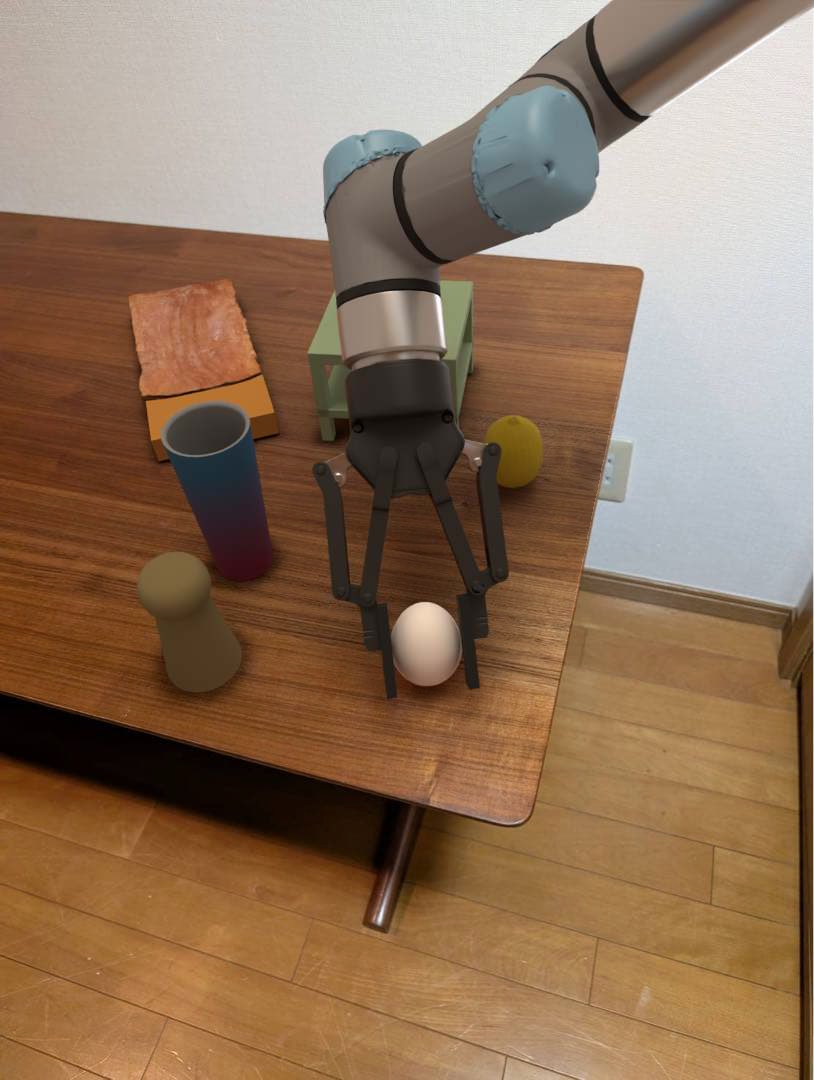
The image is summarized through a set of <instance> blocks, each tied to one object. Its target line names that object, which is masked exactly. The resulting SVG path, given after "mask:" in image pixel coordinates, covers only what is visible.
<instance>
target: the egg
mask: <svg viewBox="0 0 814 1080" xmlns="http://www.w3.org/2000/svg"><path fill="white" fill-rule="evenodd" d="M391 642H392V651H393V660H394V667H395V668H396V670H397V672H398V673H399V674H400V675H401V676H402V677H403V679H405V680H407V681H409V682H410V683H412V684H414V685H417V686H421V687H433V686H436V685H440V684H442V683H444V682H445V681H447V680H448V679H449V678H451V677H452V676H453V674H454V673H455V671H457V669H458V667H459V664H460V662H461V659H462V654H463V653H462V644H461V635H460V627H459V625H458V624H457V622H456V621H455V619H454V618H453V617H452V615H451V614H450V613H449V612H448V611H447V610H446V609H445V608H443V607H442V606H441V605H438V604H436V603H434V602H429V601H423V602H422V601H421V602H416V603H414V604H412V605H410V606H408V607H406V608H405V610H403V611H402V612H401V614H400V615H399V616H398V618H397V620H396V621H395V624H394V625H393V627H392V631H391Z"/></svg>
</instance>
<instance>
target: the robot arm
mask: <svg viewBox="0 0 814 1080" xmlns="http://www.w3.org/2000/svg"><path fill="white" fill-rule="evenodd" d="M812 9H814V0H611V1H609V2H608V3H607V4H605V5H604V6H603V7H602V8H601V9H599V11H598V12H597V13H596V14H595V15H594V16H592V17H591V18H590V19H588V20H586V21H585V22H584V23H583V24H581V25H580V26H579V27H578V28H576V29H575V30H574V31H573V32H572V33H571V34H569V35H568V36H567V37H565V38H563V39H561V40H559V41H558V42H557V43H556V44H554V45H553V46H552V47H551V48H550V49H548V51H546V52H545V53H544V54H543V55H542V56H541V57H539V58H538V60H537V61H536V62H534V64H533V65H531V66H530V68H528V70H527V71H525V72H524V73H523V74H522V75H521V76H520V77H519V78H518V79H516V80H515V81H514V82H512V83H511V84H510V85H508V87H507V88H506V89H504V90H503V91H502V92H501V93H500V94H499V95H497V96H496V97H495V98H494V99H493V100H491V101H490V102H489V103H488V104H486V105H485V106H484V107H483V108H481V109H480V111H478V112H476V114H475V115H473V116H472V117H471V118H469V119H467V120H466V121H465V122H463V123H462V124H460V125H458V126H457V127H455V128H453V129H451V130H450V131H447V132H445V133H444V134H442V135H440V136H438V137H436V138H434V139H432V140H431V141H429V142H428V143H425V144H424V145H423V144H422V143H421V142H420V141H419V140H418V138H417V137H415V136H413V135H412V134H409V133H407V132H404V131H400V130H396V129H395V130H394V129H372V130H368V131H367V132H366V133H364V134H361V135H360V134H352V135H349V136H346V137H345V138H343V139H341V140H340V141H338V142H337V143H335V144H334V145H333V146H332V147H331V148H330V150H329V151H328V153H327V154H326V155H325V157H324V160H323V164H322V165H323V166H322V178H323V183H322V184H323V210H322V212H323V213H322V214H323V219H324V224H325V225H326V231H327V239H328V245H329V252H330V253H329V254H330V260H331V261H330V262H331V267H332V268H331V269H332V276H333V277H332V279H333V286H334V290H335V294H336V305H337V319H338V328H339V337H340V345H341V354H342V363H343V365H344V366H345V367H347V368H348V369H351V370H352V371H351V372H350V373H349V374H348V375H347V377H346V378H345V388H346V397H347V406H348V415H349V419H348V422H349V434H350V435H349V439H348V442H347V444H346V446H345V452H343V453H341V454H339V455H336V456H335V457H333V458H330V459H328V460H326V461H321V460H319V461H317V462H315V463H314V464H313V465H312V468H311V471H312V475H313V476H314V479H315V481H316V483H317V485H318V487H319V489H320V491H321V494H322V497H323V509H324V516H325V517H324V518H325V528H326V529H325V531H326V539H327V550H328V561H329V562H328V563H329V571H330V572H329V573H330V582H331V594H332V596H333V597H334V599H335V600H337V601H341V602H346V603H352V604H353V605H355V606H357V607H358V609H359V611H360V618H361V626H362V627H361V628H362V635H363V645H364V647H365V649H366V651H367V652H368V653H370V652H377V651H380V652H381V660H382V669H383V678H384V679H383V680H384V687H385V696H386V700H395V699H398V688H397V687H398V686H397V679H396V671H395V670H396V669H395V664H394V660H393V651H392V642H391V634H392V632H391V626H390V616H389V615H390V614H389V607H388V602H381V603H379V602H378V598H377V596H378V589H379V584H380V583H379V582H380V576H381V569H382V563H383V557H384V556H383V555H384V548H385V543H386V536H387V529H388V522H389V514H390V508H391V501H392V500H394V499H395V500H396V499H400V498H403V497H406V496H408V495H415V496H420V497H421V496H429V498H430V501H431V503H432V504H431V505H432V506H433V507H434V510H435V513H436V515H437V518H438V520H439V523H440V526H441V528H442V531H443V534H444V537H445V539H446V541H447V544H448V547H449V550H450V551H451V554H452V556H453V559H454V561H455V564H456V566H457V569H458V572H459V575H460V577H461V579H462V582H463V585H464V587H465V593H458V594H455V596H456V597H455V600H456V609H457V617H458V628H459V631H460V635H461V644H462V653H461V654H462V662H463V670H464V678H465V684H466V686H467V688H468V690H478V689H481V684H480V677H479V676H480V675H479V667H478V658H477V649H476V640H482V639H487V638H488V636H489V632H490V627H489V617H488V609H487V608H488V607H487V600H486V595H487V592H488V591H489V590H490V589H491V588H493V587H495V586H496V585H499V584H500V583H503V582H506V581H508V579H509V577H510V571H509V562H508V555H507V547H506V539H505V532H504V531H505V530H504V524H503V517H502V508H501V501H500V494H499V487H498V485H499V484H497V477H496V475H497V471H498V466H499V461H500V457H501V450H502V449H501V447H500V445H499V444H497V443H495V442H491V443H489V444H484V442H479V441H474V440H470V439H465V435H464V434H463V432H462V431H461V429H460V427H459V428H458V426H457V424H456V420H455V414H454V405H453V396H452V387H451V378H450V369H449V367H448V366H446V364H445V363H444V362H441V361H440V360H441V359H442V358H443V357H444V356H445V355H446V354H447V351H448V350H447V341H446V333H445V324H444V316H443V307H442V300H441V292H440V289H441V287H440V281H441V278H440V269H439V268H440V267H442V266H444V265H447V264H451V263H453V262H456V261H458V260H461V259H463V258H467V257H470V256H472V255H475V254H478V253H480V252H482V251H483V252H484V251H486V250H488V249H492V248H494V247H497V246H500V245H503V244H506V243H509V242H511V241H514V240H517V239H519V238H523V237H525V236H530V235H534V234H535V233H538V234H540V233H543V232H546V231H547V230H549V229H551V228H552V227H553V226H554V225H555V224H558V223H560V222H561V221H563V220H565V219H567V218H570V217H572V216H574V215H577V214H579V213H580V212H581V211H583V210H584V209H586V207H587V206H588V205H589V204H590V203H591V202H592V200H593V198H594V196H595V194H596V192H597V187H598V184H597V178H598V176H599V174H600V155H599V154H600V153H601V152H603V151H604V150H605V149H606V148H608V147H610V146H611V145H612V144H614V143H615V142H617V141H618V140H619V139H621V138H622V137H625V136H626V135H627V134H629V133H630V132H631V131H633V130H635V129H636V128H638V127H639V126H640V125H642V124H643V123H644V122H646V121H647V120H649V119H650V118H651V117H653V116H654V115H655V114H656V113H657V112H659V111H660V110H662V109H664V108H666V106H668V105H670V104H671V103H672V102H674V101H676V100H677V99H679V98H680V97H682V96H683V95H684V94H686V93H688V92H689V91H691V90H692V89H693V88H695V87H696V86H698V85H700V84H701V83H703V82H704V81H706V80H707V79H708V78H710V77H711V76H713V75H715V74H716V73H717V72H719V71H721V70H723V68H725V67H727V66H728V65H729V64H732V63H733V62H734V61H736V60H737V59H739V58H740V57H741V56H743V55H744V54H746V53H747V52H749V51H750V50H752V49H754V48H755V47H757V46H758V45H760V44H761V43H762V42H764V41H766V40H767V39H768V38H771V36H773V35H774V34H776V33H777V32H780V31H781V30H782V29H783V28H786V27H787V26H789V24H791V23H793V22H794V21H796V20H797V19H799V18H800V17H802V16H803V15H805V14H806V13H807V12H809V11H810V10H812ZM461 455H463V456H465V458H466V460H467V466H468V469H469V470H470V471H471V472H473V473H476V475H475V481H476V482H475V484H476V485H475V486H476V493H477V499H478V500H477V501H478V508H479V516H480V522H481V523H480V524H481V531H482V539H483V546H484V554H485V562H486V568H484V569H482V570H480V568H479V565H478V563H477V560H476V557H475V555H474V552H473V550H472V548H471V545H470V542H469V539H468V537H467V535H466V533H465V530H464V526H463V524H462V521H461V520H460V519H461V518H460V517H459V514H458V511H457V509H456V507H455V504H454V500H453V498H452V494H451V491H450V489H449V487H448V484H447V482H446V481H447V479H448V478H449V476H450V475H451V473H452V470H453V469H454V467H455V466H456V464H457V462H458V460H459V458H460V456H461ZM351 467H352V468H354V470H355V472H357V473H358V474H359V475H360V476H361V477H362V479H364V481H365V482H366V483H367V484H368V485H369V486H370V487H371V488H372V489H373V491H374V493H373V499H372V505H371V513H370V514H371V515H370V522H369V526H368V535H367V540H366V546H365V547H366V548H365V553H364V561H363V569H362V575H361V581H360V585H359V584H356V583H355V584H354V583H351V575H350V564H349V553H348V542H347V532H346V522H345V521H346V520H345V513H344V512H345V508H344V499H343V494H342V491H341V488H343V487H345V485H346V484H347V482H348V476H347V472H348V470H349V468H351Z"/></svg>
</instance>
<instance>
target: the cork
mask: <svg viewBox="0 0 814 1080" xmlns="http://www.w3.org/2000/svg"><path fill="white" fill-rule="evenodd" d="M211 590H212V579H211V575H210V573H209V570H208V568H207V566H206V565H205V564H204V562H203V561H201V559H200V558H199V557H197V556H195V555H193V554H191V553H188V552H185V551H169V552H165V553H163V554H162V553H161V554H159V555H157V556H155V557H154V558H152V559H150V560H149V561H148V562H147V563H146V564H145V565H144V566H143V568H142V569H141V571H140V573H139V574H138V576H137V581H136V594H137V597H138V601H139V602H140V603H139V604H140V605H141V606H142V607H143V608H144V610H145V611H146V612H147V613H149V615H150V616H152V617H154V620H155V624H156V629H157V633H158V637H159V642H160V646H161V651H162V655H163V660H164V664H165V667H166V672H167V676H168V678H169V680H170V681H171V683H172V684H173V685H174V686H175V687H176V688H178V689H180V690H182V691H184V692H188V693H193V694H194V693H195V694H197V693H206V692H207V693H208V692H210V691H213V690H215V689H217V688H220V687H222V686H224V684H227V683H228V682H229V681H230V680H231V679H233V677H234V676H235V675H236V673H238V671H239V668H240V666H241V664H242V662H243V650H242V648H241V645H240V643H239V641H238V639H237V637H236V636H235V633H233V631H232V629H231V628H230V625H229V624H228V623H227V621H226V619H225V617H224V616H223V614H222V612H221V611H220V609H219V607H218V606H217V603H216V602H215V601H214V599H213V598H212V596H211Z"/></svg>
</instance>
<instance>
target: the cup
mask: <svg viewBox="0 0 814 1080" xmlns="http://www.w3.org/2000/svg"><path fill="white" fill-rule="evenodd" d="M161 441H162V443H163V445H164V448H165V450H166V452H167V454H168V457H169V459H168V460H169V461H170V464H171V466H172V468H173V470H174V472H175V475H176V478H177V479H178V482H179V485H180V486H181V489H182V491H183V493H184V496H185V497H186V500H187V503H188V504H189V507H190V510H191V511H192V513H193V516H194V518H195V520H196V522H197V525H198V527H199V529H200V531H201V532H200V533H202V536H203V538H204V540H205V544H206V545H207V548H208V551H209V552H210V554H211V556H212V559H213V561H214V564H215V566H216V568H217V570H218V573H220V575H221V576H223V577H224V578H225V579H228V580H230V581H236V582H245V581H250V580H253V579H256V578H258V577H259V576H261V575H263V574H264V573H265V572H267V571H268V569H269V568H270V567H271V565H272V563H273V560H274V552H273V547H272V540H271V535H270V529H269V523H268V517H267V512H266V506H265V500H264V494H263V488H262V483H261V482H262V481H261V477H260V471H259V465H258V459H257V454H256V448H255V441H254V439H253V435H252V430H251V424H250V418H249V416H248V414H247V412H246V411H245V410H244V409H243V408H241V407H240V406H238V405H236V404H233V403H230V402H225V401H206V402H201V403H197V404H194V405H191V406H188V407H186V408H184V409H182V410H180V411H178V412H177V413H175V414H174V415H173V416H172V417H170V418H169V419H168V421H167V422H166V423H165V425H164V426H163V428H162V432H161Z"/></svg>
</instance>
